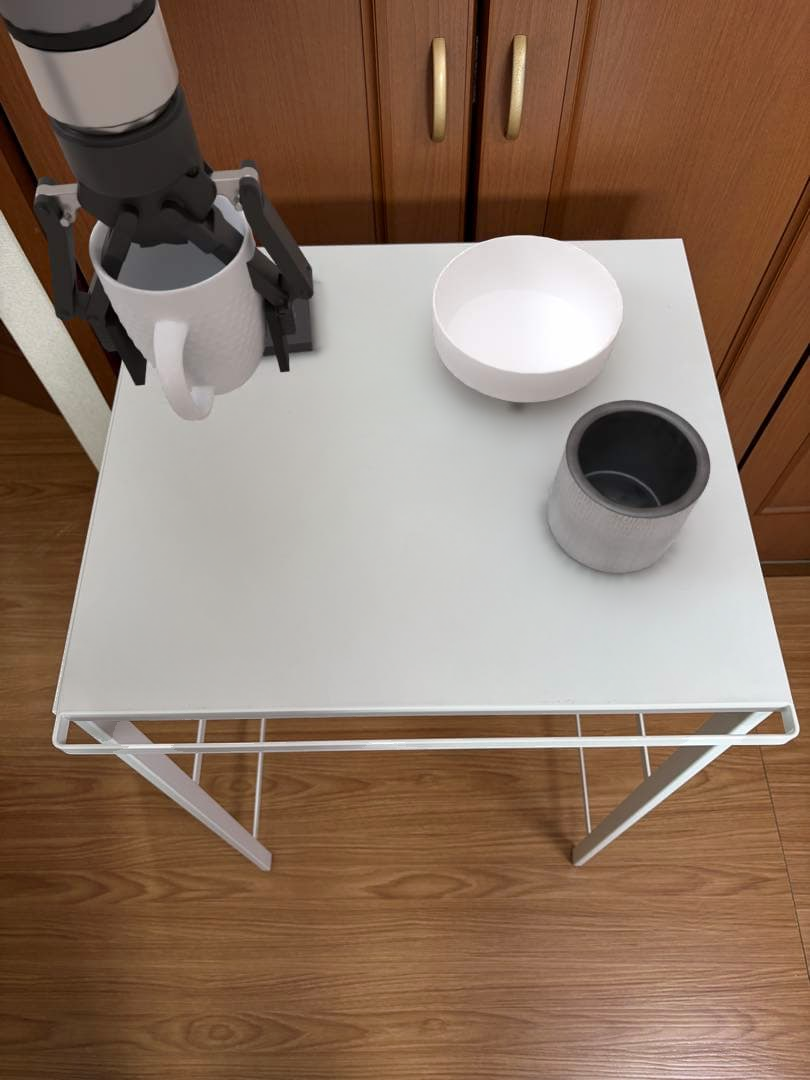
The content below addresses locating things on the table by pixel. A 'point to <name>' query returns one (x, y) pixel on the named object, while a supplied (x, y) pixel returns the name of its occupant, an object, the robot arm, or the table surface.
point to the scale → (303, 332)
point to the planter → (626, 485)
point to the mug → (190, 314)
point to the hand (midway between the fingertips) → (213, 365)
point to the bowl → (525, 317)
